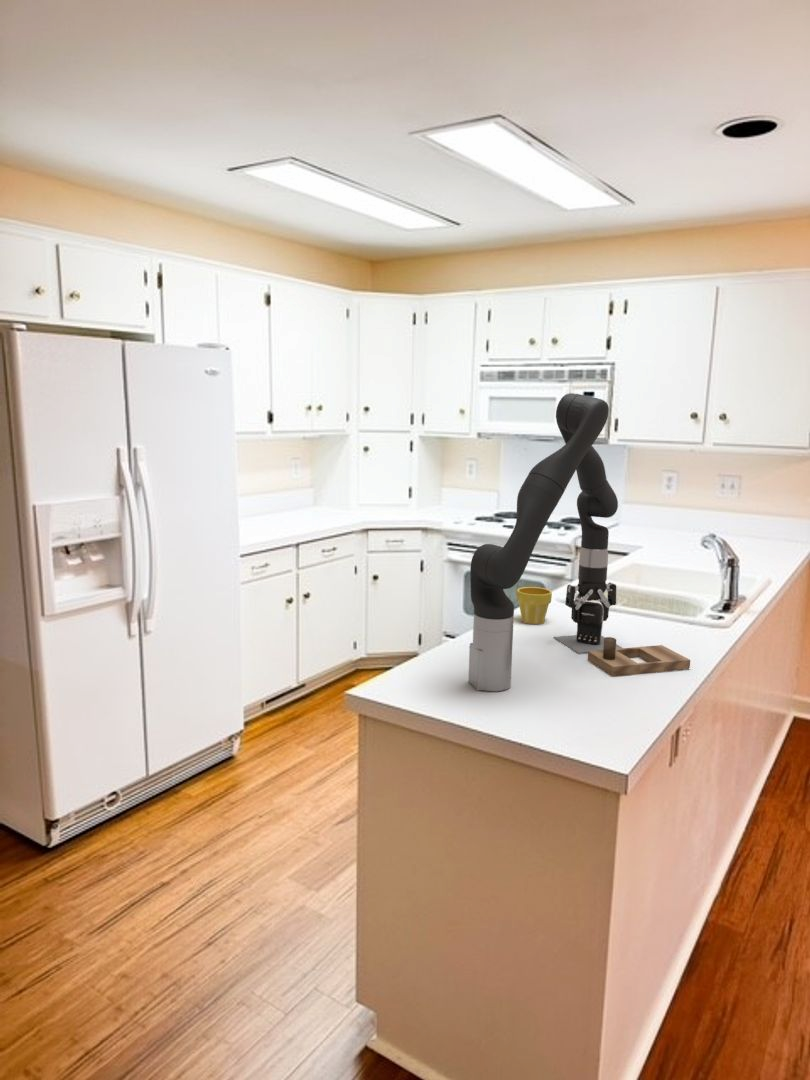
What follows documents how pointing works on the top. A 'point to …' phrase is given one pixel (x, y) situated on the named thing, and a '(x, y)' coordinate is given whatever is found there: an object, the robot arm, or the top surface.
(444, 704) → the top surface
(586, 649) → the rubber mat
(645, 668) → the plane body
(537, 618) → the plant pot
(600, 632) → the battery charger
